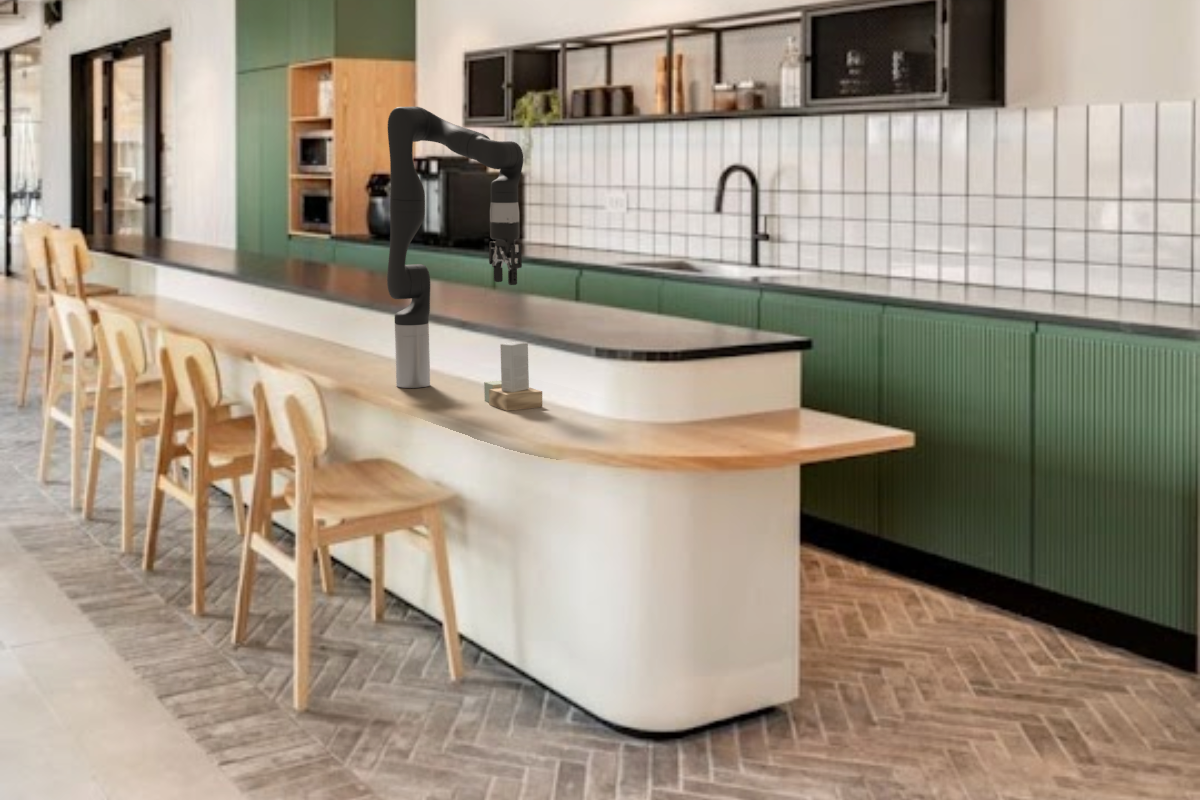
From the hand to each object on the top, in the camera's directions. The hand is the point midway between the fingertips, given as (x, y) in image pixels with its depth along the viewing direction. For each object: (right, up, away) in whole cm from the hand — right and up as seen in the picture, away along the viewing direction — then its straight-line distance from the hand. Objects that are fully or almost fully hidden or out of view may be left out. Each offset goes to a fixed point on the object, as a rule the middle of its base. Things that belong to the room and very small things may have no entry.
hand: (505, 283), depth 378 cm
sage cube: (-2, -31, -1) cm, 31 cm away
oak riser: (+3, -32, -8) cm, 33 cm away
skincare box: (+3, -28, -9) cm, 29 cm away
